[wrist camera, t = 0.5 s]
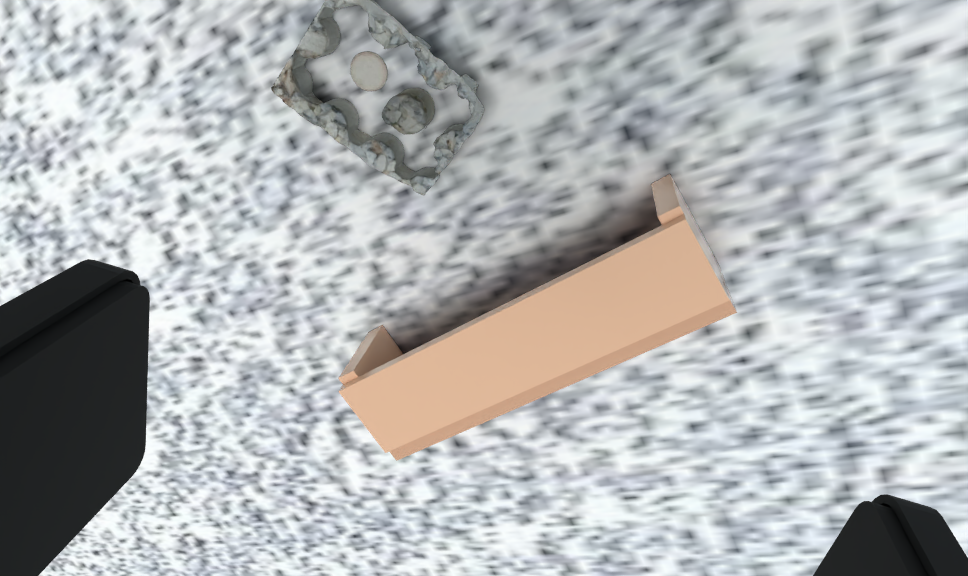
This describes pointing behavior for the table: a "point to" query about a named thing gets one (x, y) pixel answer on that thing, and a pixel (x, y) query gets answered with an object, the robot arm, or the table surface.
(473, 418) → the shelf
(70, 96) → the table surface
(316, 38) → the egg carton
